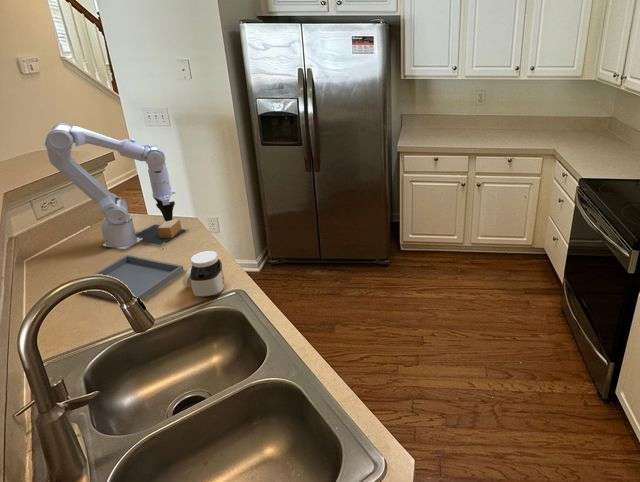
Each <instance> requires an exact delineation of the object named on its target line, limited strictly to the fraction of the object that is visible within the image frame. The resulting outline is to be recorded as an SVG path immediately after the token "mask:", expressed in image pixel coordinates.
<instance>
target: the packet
mask: <svg viewBox="0 0 640 482" xmlns="http://www.w3.org/2000/svg"><path fill="white" fill-rule="evenodd" d="M181 229H182V223H181V219H178V218H177V219H175V218H172V220H171V221H165V220H164V222H162V223H161V224H160V226H159V227H158V233H159V238H172V237H174V236H175V235H176V234H177V233H178V232H179V231H180V230H181Z"/></svg>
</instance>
